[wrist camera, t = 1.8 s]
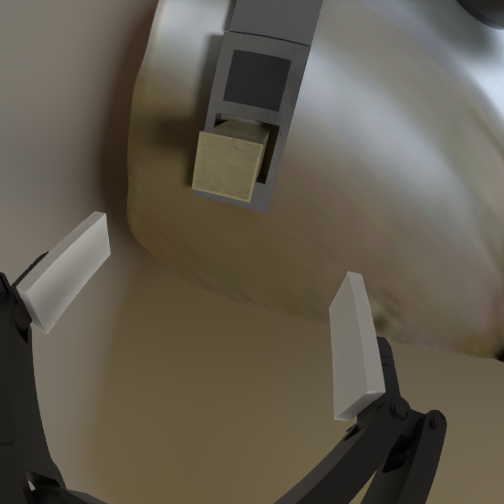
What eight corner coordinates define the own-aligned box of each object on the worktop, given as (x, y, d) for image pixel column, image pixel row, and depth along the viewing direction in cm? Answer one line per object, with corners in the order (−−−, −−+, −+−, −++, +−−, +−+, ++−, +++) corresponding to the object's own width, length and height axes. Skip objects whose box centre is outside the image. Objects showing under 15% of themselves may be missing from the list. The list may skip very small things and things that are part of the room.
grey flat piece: (229, 35, 23) (224, 31, 21) (309, 50, 23) (310, 47, 21) (201, 188, 35) (194, 195, 32) (268, 204, 34) (266, 213, 32)
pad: (247, -28, 18) (245, -31, 17) (326, -14, 18) (326, -17, 17) (230, 32, 23) (228, 30, 22) (310, 47, 23) (310, 45, 22)
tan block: (227, 118, 29) (199, 131, 21) (272, 127, 29) (263, 144, 21) (219, 159, 32) (191, 188, 24) (262, 169, 32) (249, 202, 24)
